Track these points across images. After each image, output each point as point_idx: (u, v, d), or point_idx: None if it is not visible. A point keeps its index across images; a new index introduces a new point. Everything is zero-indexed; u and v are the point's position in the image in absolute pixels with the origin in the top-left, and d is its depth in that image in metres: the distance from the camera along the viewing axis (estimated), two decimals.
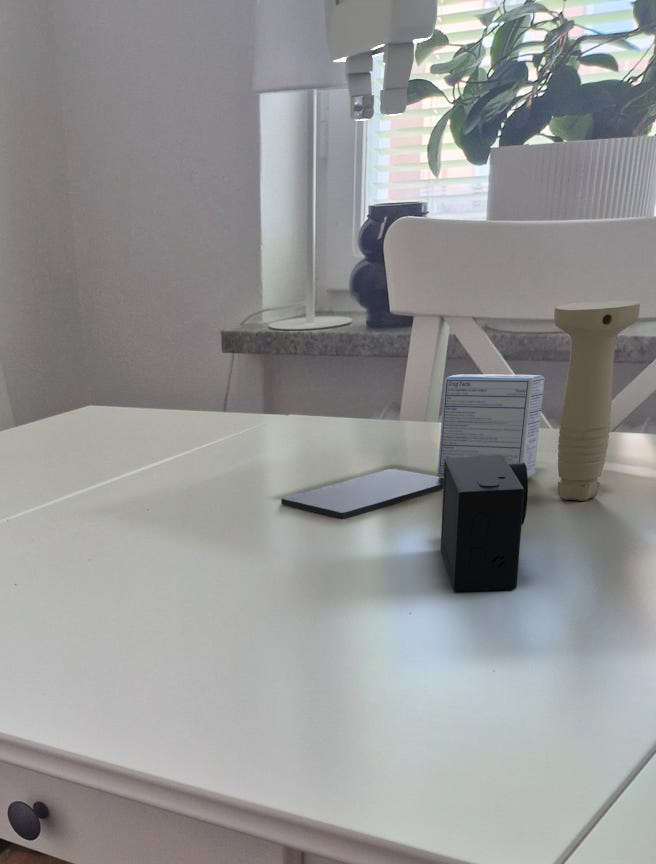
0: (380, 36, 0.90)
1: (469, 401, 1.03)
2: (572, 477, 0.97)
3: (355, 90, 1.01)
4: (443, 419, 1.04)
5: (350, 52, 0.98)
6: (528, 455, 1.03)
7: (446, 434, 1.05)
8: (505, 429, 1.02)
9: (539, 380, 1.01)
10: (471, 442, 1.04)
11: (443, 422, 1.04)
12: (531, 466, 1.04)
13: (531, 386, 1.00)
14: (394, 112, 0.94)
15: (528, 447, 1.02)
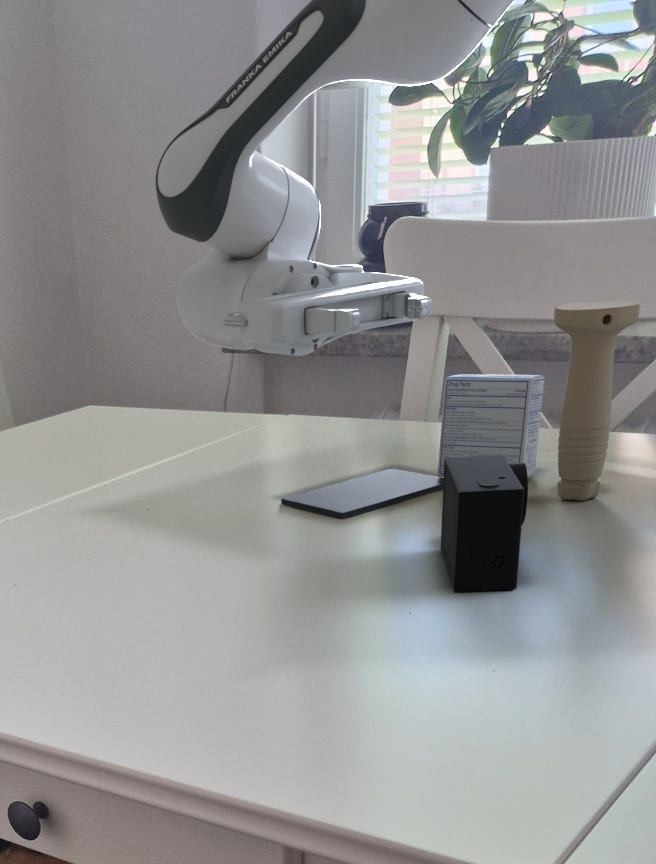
0: (299, 342, 1.10)
1: (469, 401, 1.03)
2: (572, 477, 0.97)
3: None
4: (443, 419, 1.04)
5: (372, 327, 1.14)
6: (528, 455, 1.03)
7: (446, 434, 1.05)
8: (505, 429, 1.02)
9: (539, 380, 1.01)
10: (471, 442, 1.04)
11: (443, 422, 1.04)
12: (531, 466, 1.04)
13: (531, 386, 1.00)
14: (347, 323, 1.06)
15: (528, 447, 1.02)
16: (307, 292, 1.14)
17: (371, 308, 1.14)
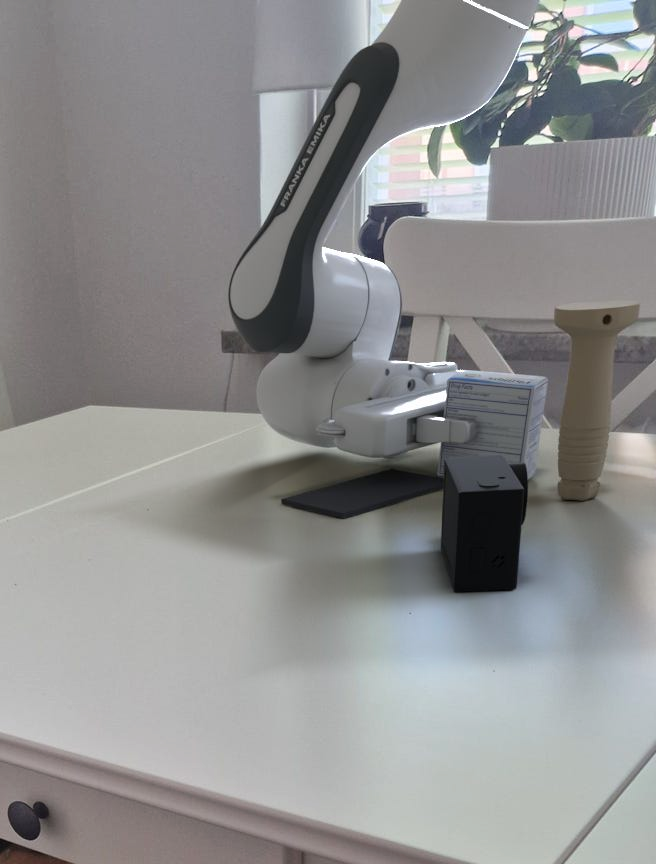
0: (400, 452, 1.05)
1: (471, 405, 1.02)
2: (572, 477, 0.97)
3: None
4: None
5: None
6: (528, 461, 1.03)
7: None
8: (506, 435, 1.02)
9: (542, 385, 1.00)
10: (472, 445, 1.03)
11: None
12: (531, 469, 1.04)
13: (534, 394, 0.99)
14: (464, 434, 1.01)
15: (528, 452, 1.02)
16: (404, 396, 1.09)
17: None
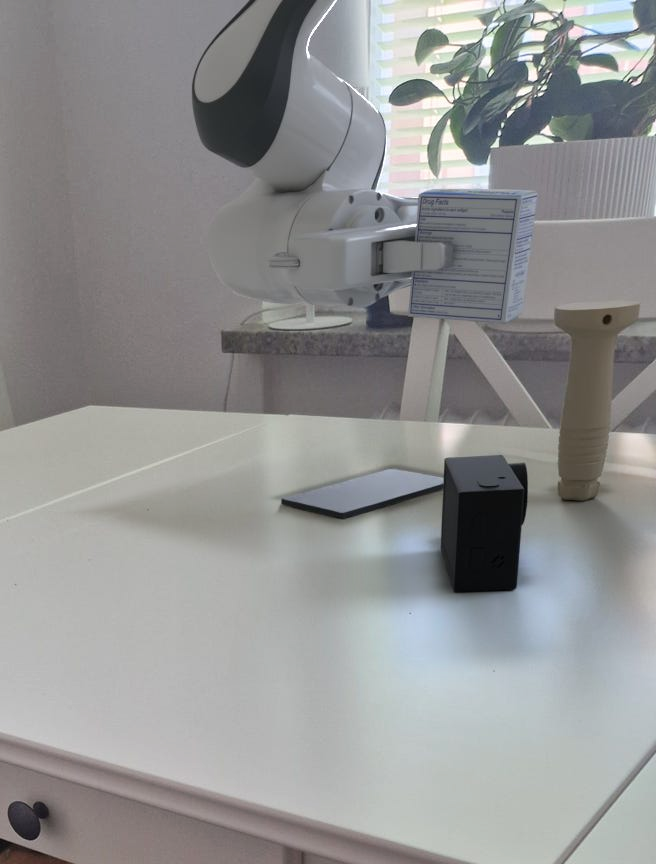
0: (363, 285, 0.89)
1: (447, 224, 0.86)
2: (572, 477, 0.97)
3: None
4: None
5: None
6: (514, 292, 0.87)
7: None
8: (488, 260, 0.86)
9: (531, 197, 0.85)
10: (448, 275, 0.88)
11: None
12: (518, 305, 0.89)
13: (520, 205, 0.83)
14: (438, 257, 0.86)
15: (514, 282, 0.86)
16: (371, 227, 0.93)
17: None
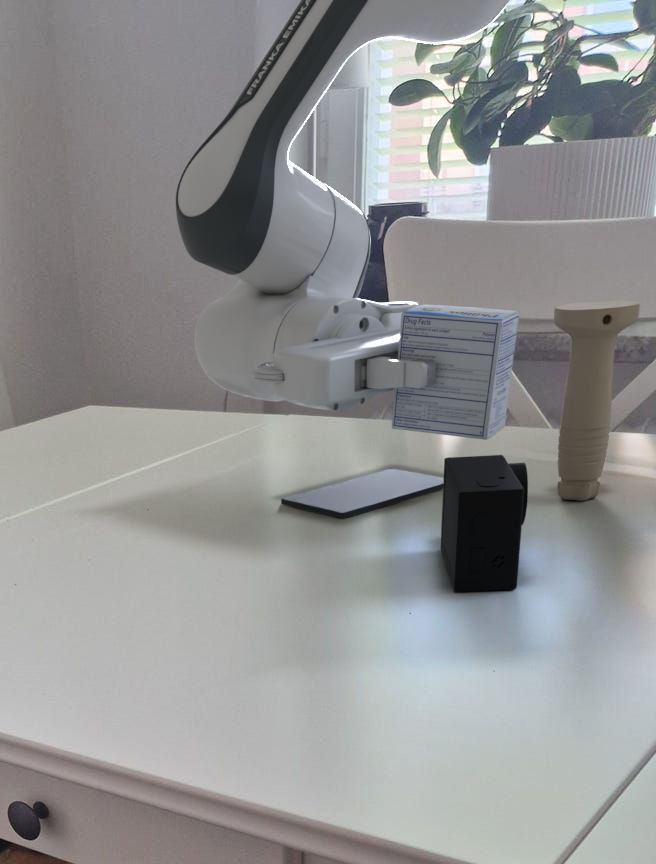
0: (347, 400, 0.90)
1: (429, 343, 0.87)
2: (572, 477, 0.97)
3: None
4: None
5: None
6: (496, 410, 0.88)
7: None
8: (470, 379, 0.87)
9: (512, 319, 0.85)
10: (430, 391, 0.89)
11: None
12: (500, 420, 0.90)
13: (501, 329, 0.84)
14: (421, 377, 0.87)
15: (495, 400, 0.87)
16: (355, 337, 0.94)
17: None
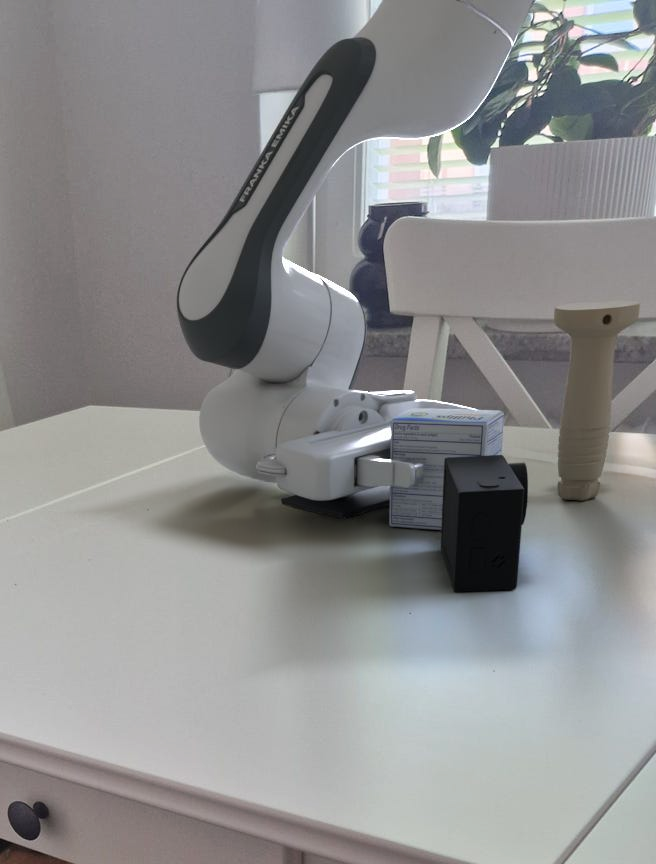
0: None
1: (419, 447, 0.91)
2: (572, 477, 0.97)
3: None
4: None
5: None
6: None
7: None
8: None
9: (497, 420, 0.89)
10: (424, 491, 0.93)
11: None
12: None
13: (486, 431, 0.88)
14: (409, 477, 0.90)
15: None
16: (355, 430, 0.98)
17: None
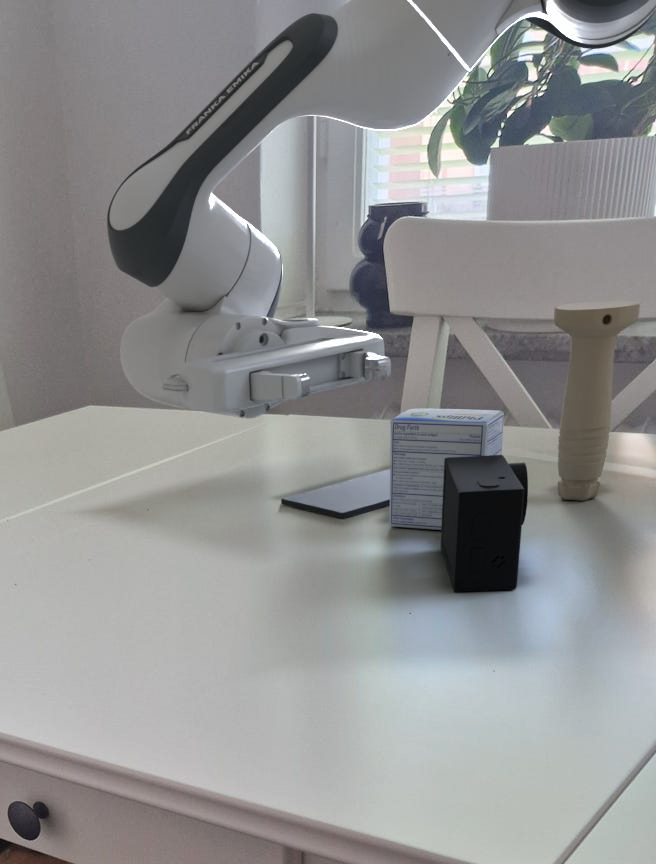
0: (244, 408, 1.00)
1: (419, 447, 0.91)
2: (572, 477, 0.97)
3: None
4: (392, 465, 0.93)
5: (326, 389, 1.04)
6: None
7: (396, 481, 0.93)
8: None
9: (497, 420, 0.89)
10: (424, 491, 0.93)
11: (392, 468, 0.93)
12: None
13: (486, 431, 0.88)
14: (296, 389, 0.96)
15: None
16: (255, 351, 1.04)
17: (326, 369, 1.04)
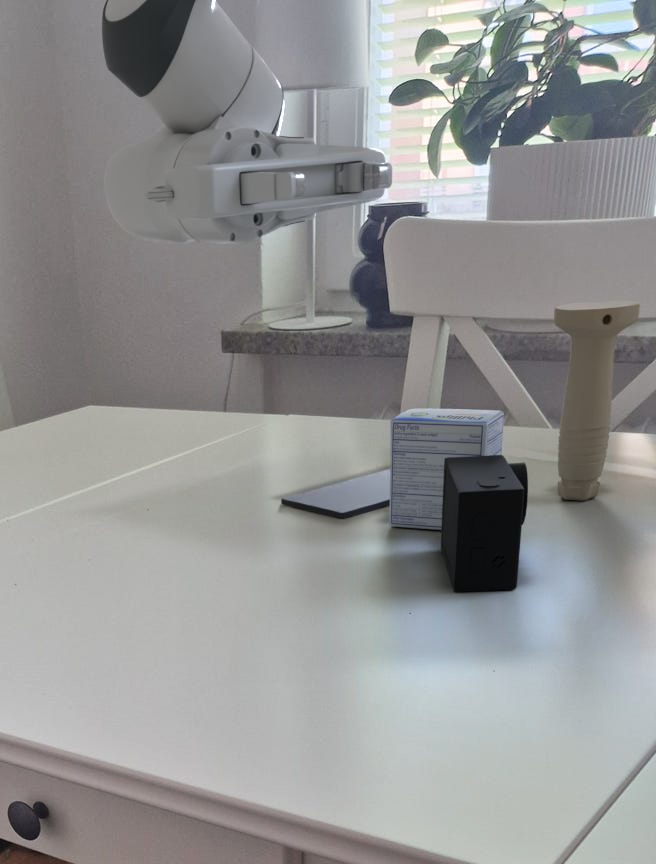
0: (234, 215, 0.92)
1: (419, 447, 0.91)
2: (572, 477, 0.97)
3: None
4: (392, 465, 0.93)
5: (323, 203, 0.97)
6: None
7: (396, 481, 0.93)
8: None
9: (497, 420, 0.89)
10: (424, 491, 0.93)
11: (392, 468, 0.93)
12: None
13: (486, 431, 0.88)
14: (289, 187, 0.89)
15: None
16: None
17: (322, 180, 0.96)
